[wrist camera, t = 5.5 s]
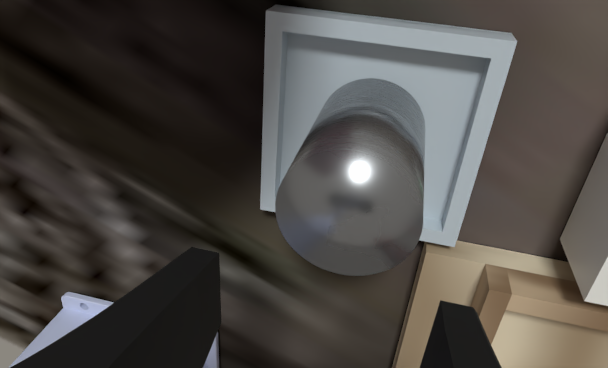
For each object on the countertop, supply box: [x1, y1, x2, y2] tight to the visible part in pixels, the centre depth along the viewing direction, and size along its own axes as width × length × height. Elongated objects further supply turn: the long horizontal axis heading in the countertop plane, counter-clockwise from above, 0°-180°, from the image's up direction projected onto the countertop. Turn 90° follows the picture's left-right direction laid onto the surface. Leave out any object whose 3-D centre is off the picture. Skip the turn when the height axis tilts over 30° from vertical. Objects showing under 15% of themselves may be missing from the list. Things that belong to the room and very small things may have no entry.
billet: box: [275, 78, 425, 276], centre depth 15 cm, size 4×4×6 cm
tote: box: [260, 5, 517, 247], centre depth 17 cm, size 8×8×1 cm
